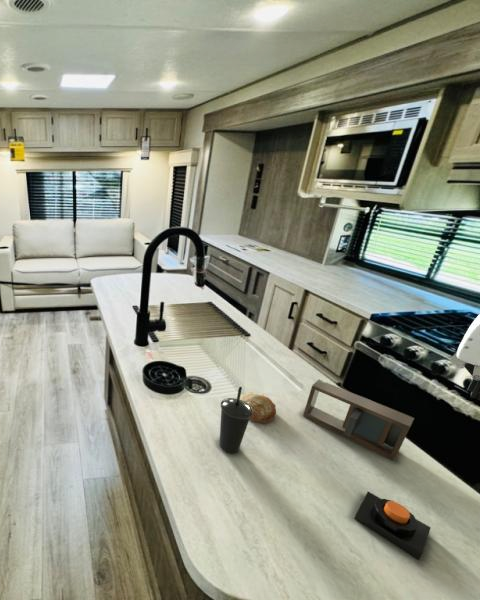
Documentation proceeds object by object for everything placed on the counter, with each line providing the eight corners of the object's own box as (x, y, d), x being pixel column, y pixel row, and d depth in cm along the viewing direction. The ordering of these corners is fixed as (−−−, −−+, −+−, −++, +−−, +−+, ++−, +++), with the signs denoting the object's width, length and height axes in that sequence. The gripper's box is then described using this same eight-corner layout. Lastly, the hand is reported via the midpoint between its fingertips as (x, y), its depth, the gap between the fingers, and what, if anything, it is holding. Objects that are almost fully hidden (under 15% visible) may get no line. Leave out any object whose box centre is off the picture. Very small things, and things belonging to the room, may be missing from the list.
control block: (426, 534, 65) (434, 521, 63) (418, 560, 60) (426, 547, 59) (364, 497, 72) (370, 485, 71) (353, 518, 68) (359, 506, 66)
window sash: (383, 445, 84) (393, 420, 81) (375, 457, 80) (386, 432, 77) (342, 425, 90) (351, 402, 87) (334, 436, 87) (343, 413, 84)
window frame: (398, 451, 84) (414, 417, 80) (393, 461, 81) (410, 426, 77) (309, 409, 100) (318, 379, 95) (302, 415, 97) (312, 385, 93)
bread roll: (236, 410, 105) (230, 393, 102) (265, 398, 104) (260, 381, 101) (253, 433, 96) (247, 415, 93) (286, 420, 94) (280, 401, 92)
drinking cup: (207, 440, 89) (217, 382, 81) (228, 433, 91) (240, 375, 84) (228, 461, 82) (241, 400, 75) (250, 452, 84) (264, 392, 77)
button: (409, 516, 65) (412, 511, 64) (405, 527, 63) (408, 521, 62) (386, 503, 67) (388, 497, 67) (381, 513, 65) (384, 507, 65)
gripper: (593, 323, 54) (538, 408, 60) (462, 299, 65) (428, 373, 72) (598, 336, 49) (538, 426, 56) (456, 308, 61) (421, 385, 67)
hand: (476, 396), depth 64 cm, fingers closed
